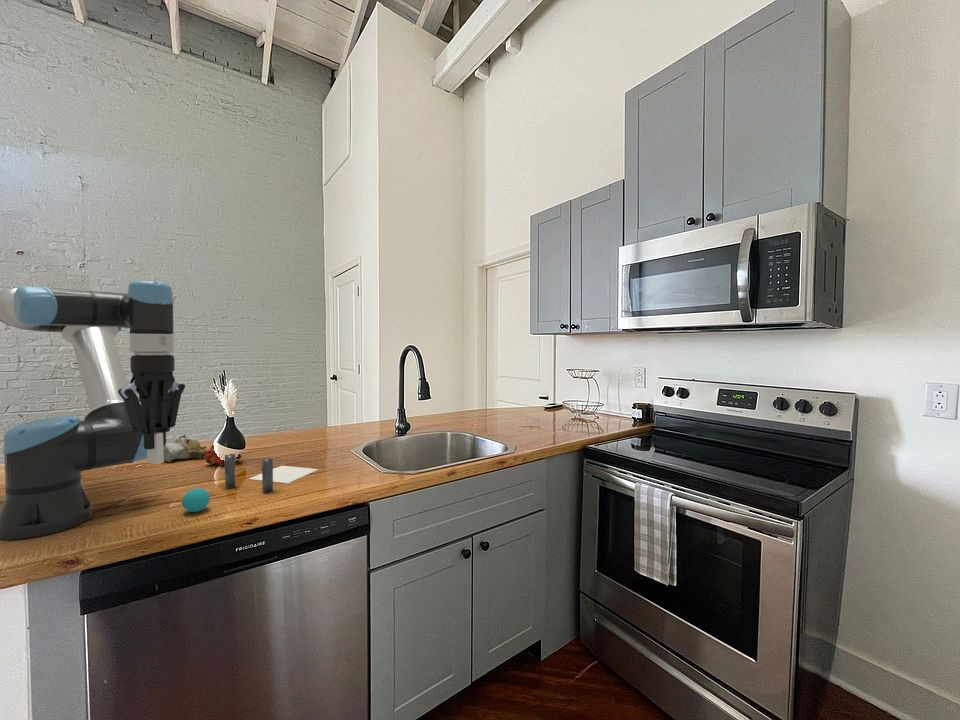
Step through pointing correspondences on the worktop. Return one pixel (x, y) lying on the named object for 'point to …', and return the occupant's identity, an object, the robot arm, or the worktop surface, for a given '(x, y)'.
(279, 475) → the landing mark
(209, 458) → the dragon fruit
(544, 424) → the worktop surface
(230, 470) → the gate post left
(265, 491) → the gate post right
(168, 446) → the grey rock
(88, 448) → the robot arm
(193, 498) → the ball
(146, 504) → the worktop surface
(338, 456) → the worktop surface
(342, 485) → the worktop surface
